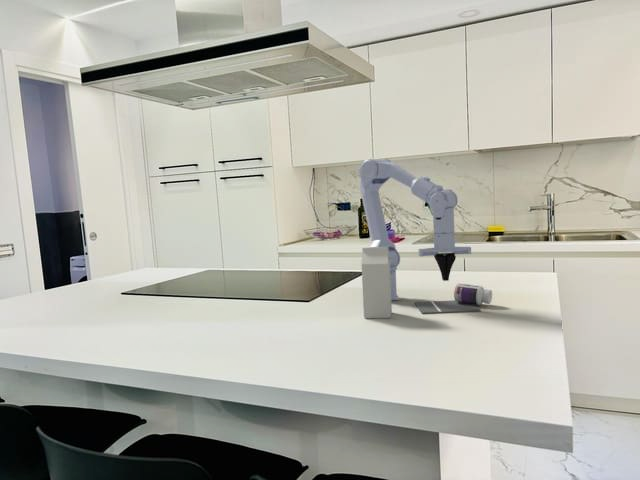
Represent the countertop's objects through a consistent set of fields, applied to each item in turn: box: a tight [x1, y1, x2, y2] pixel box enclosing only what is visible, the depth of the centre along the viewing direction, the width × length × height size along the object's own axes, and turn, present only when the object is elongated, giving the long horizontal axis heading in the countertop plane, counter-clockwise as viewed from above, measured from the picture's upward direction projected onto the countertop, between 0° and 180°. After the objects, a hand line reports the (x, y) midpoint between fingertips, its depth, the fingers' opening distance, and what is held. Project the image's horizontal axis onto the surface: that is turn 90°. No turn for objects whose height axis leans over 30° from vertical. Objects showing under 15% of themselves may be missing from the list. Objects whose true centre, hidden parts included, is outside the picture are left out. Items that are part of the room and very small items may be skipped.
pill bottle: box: [453, 283, 493, 306], centre depth 143 cm, size 5×5×10 cm
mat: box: [414, 299, 482, 315], centre depth 142 cm, size 16×13×1 cm
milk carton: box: [361, 247, 393, 319], centre depth 136 cm, size 7×7×19 cm
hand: (445, 280), depth 142 cm, fingers closed
